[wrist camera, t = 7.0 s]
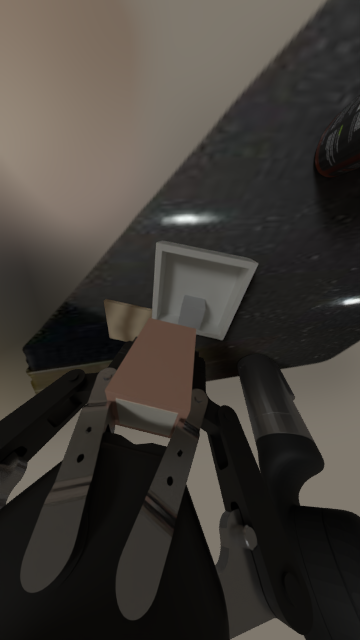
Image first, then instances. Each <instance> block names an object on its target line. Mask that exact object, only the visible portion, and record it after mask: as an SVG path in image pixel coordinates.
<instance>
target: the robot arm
mask: <svg viewBox="0 0 360 640" xmlns="http://www.w3.org/2000/svg"><path fill="white" fill-rule="evenodd" d="M136 339H137V336H136V337H135V339H134V340H133V341H130V340H129V341H128V342H126V343H125V344H124V345H123V346H122V348H121V349H120V351H119V353H118V354H117V355H116V357H115V358H114V359H113V361H112V362H111V364H110V365H109V367H108V368H106V369H103V370H102V371H100V372H99V373H90V374H85V372H84V371H83V370H81V369H75V370H71V371H69V372H68V373H66V374H65V375H63V376H62V377H60V378H59V379H58V380H56V381H55V382H54V383H52V384H51V385H49V386H48V387H47V388H45V389H44V390H42V391H41V392H40V393H38V394H37V395H35V396H34V397H33V398H31V399H30V400H29V401H27V402H26V403H24V404H23V405H22V406H20V407H19V408H17V409H16V410H15V411H13V412H12V413H10V414H9V415H8V416H6V417H5V418H4V419H2V420H1V421H0V640H230V639H232V638H234V637H236V636H238V635H240V634H242V633H244V632H246V631H248V630H250V629H252V628H254V627H256V626H259V625H260V624H263V623H265V622H267V621H269V620H271V619H273V618H278V619H279V620H280V621H282V622H283V623H285V624H286V625H287V626H289V627H290V628H292V629H293V630H295V631H296V632H297V633H299V634H301V635H304V637H305V639H306V640H360V517H359V516H357V515H356V514H354V513H352V512H349V511H345V510H338V509H330V508H319V507H308V506H300V503H299V491H300V489H301V487H302V486H303V484H304V483H305V482H306V481H307V480H308V479H309V478H311V477H313V476H314V475H316V474H318V473H320V472H321V471H322V470H323V468H324V460H323V458H322V455H321V453H320V452H319V450H318V448H317V446H316V444H315V442H314V440H313V438H312V436H311V435H310V433H309V431H308V429H307V427H306V425H305V423H304V421H303V419H302V417H301V415H300V414H299V412H298V410H297V408H296V406H295V404H294V402H293V400H294V399H295V396H294V394H293V392H292V390H291V388H290V387H289V385H288V383H287V381H286V379H285V378H284V376H283V374H282V372H281V370H280V368H279V367H278V365H277V363H276V362H273V361H272V360H271V359H270V358H269V357H267V356H265V355H260V354H253V355H248V356H246V357H244V358H242V359H241V360H240V361H239V362H238V364H237V368H238V373H239V376H240V381H241V384H242V389H243V393H244V397H245V401H246V405H247V409H248V414H249V418H250V422H251V426H252V430H253V434H254V438H255V442H256V446H257V450H258V458H259V467H260V470H259V468H258V465H257V463H256V461H255V458H254V456H253V453H252V451H251V448H250V446H249V444H248V441H247V439H246V437H245V434H244V431H243V429H242V426H241V424H240V422H239V419H238V417H237V414H236V413H235V411H234V410H233V409H232V408H230V407H229V406H226V405H223V406H221V407H220V406H219V405H217V404H215V403H214V402H212V401H211V400H210V399H209V397H208V396H207V394H206V378H205V361H204V359H203V358H200V357H199V351H196V350H195V353H194V367H193V381H192V395H191V408H190V413H189V415H188V417H187V419H186V420H185V419H181V418H179V420H178V423H177V425H176V427H175V430H174V432H173V434H172V437H171V439H170V442H169V444H168V446H167V447H166V446H162V445H158V444H154V443H147V444H137V445H136V444H133V443H132V442H130V441H129V440H127V439H126V438H124V437H123V436H121V435H118V434H114V430H115V416H113V412H112V407H113V405H112V401H108V400H107V397H106V393H105V389H106V387H107V386H108V384H109V382H110V381H111V379H112V378H113V376H114V374H115V373H116V371H117V369H118V368H119V366H120V365H121V363H122V361H123V360H124V358H125V356H126V355H127V353H128V352H129V350H130V348H131V347H132V345H133V343H134V342H135V340H136ZM86 404H87V405H86ZM82 407H83V408H82ZM81 408H82V410H81V413H80V416H79V419H78V421H77V424H76V426H75V429H74V432H73V434H72V437H71V440H70V443H69V445H68V448H67V451H66V454H65V456H64V459H63V460H62V461H61V462H60V463H58V464H57V465H56V466H55V467H53V468H52V469H51V470H50V471H48V472H47V473H46V474H45V475H43V476H42V477H41V478H39V479H38V480H37V481H36V482H35V483H33V484H32V485H30V486H29V487H28V488H27V489H25V490H24V491H23V492H21V493H20V494H19V495H18V496H16V497H15V498H14V499H13V500H11V501H10V502H9V503H7V504H6V501H7V498H8V496H9V495H10V493H11V491H12V490H13V488H14V487H15V486H16V485H17V483H18V482H19V481H20V480H21V479H22V477H23V475H24V473H25V471H26V468H27V462H28V461H29V460H30V459H31V458H32V457H33V456H34V455H35V454H36V453H37V452H38V451H39V450H40V449H41V448H42V447H43V446H44V445H45V444H46V443H47V442H48V441H49V440H50V439H51V438H52V437H53V436H54V435H55V434H56V433H57V432H58V431H59V430H60V429H61V428H62V427H63V426H64V425H65V424H66V423H67V422H68V421H69V420H70V419H71V418H72V417H73V416H74V415H75V414H76V413H77V412H78V411H79V410H80V409H81ZM200 428H201V429H203V430H204V431H206V432H207V434H208V439H209V443H210V447H211V452H212V456H213V460H214V464H215V468H216V473H217V477H218V481H219V485H220V489H221V494H222V498H223V502H224V506H225V510H226V511H225V512H224V513H223V514H222V516H221V519H220V526H219V531H220V540H221V551H220V556H219V560H218V562H217V564H216V565H214V562H213V559H212V556H211V553H210V550H209V547H208V545H207V542H206V539H205V536H204V533H203V531H202V527H201V525H200V522H199V519H198V516H197V514H196V511H195V508H194V505H193V502H192V499H191V496H190V493H189V491H188V488H187V485H186V482H187V478H188V475H189V472H190V468H191V465H192V461H193V458H194V454H195V451H196V447H197V443H198V440H199V436H200V434H199V431H200ZM260 472H261V473H260Z"/></svg>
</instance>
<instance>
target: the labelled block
mask: <svg viewBox="0 0 360 640" xmlns="http://www.w3.org/2000/svg"><path fill="white" fill-rule="evenodd" d="M195 340H196V329H195V328H190V327H186V326H182V325H178V324H173V323H169V322H165V321H161V320H156V319H152V318H149V319H148V321H147V322H146V324H145V326H144V327H143V329H142V330H141V332H140V334H139V335H138V337H137V339H136V340H135V342H134V343H133V345H132V347H131V348H130V350H129V352H128V353H127V355H126V356H125V358H124V360H123V361H122V363H121V365H120V366H119V368H118V369H117V371H116V373H115V374H114V376H113V378H112V379H111V381H110V382H109V384H108V386H107V387H106V389H105V393H106V397H107V400H108V401H112V405H113V407H112V412H113V416H115V425H120V426H124V427H128V428H132V429H136V430H139V431H143V432H147V433H151V434H155V435H159V436H164V437H168V438H171V437H172V434H173V432H174V430H175V427H176V425H177V423H178V420H179V418H181V419H185V420H186V419H187V417H188V415H189V413H190V408H191V395H192V381H193V367H194V353H195Z"/></svg>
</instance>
